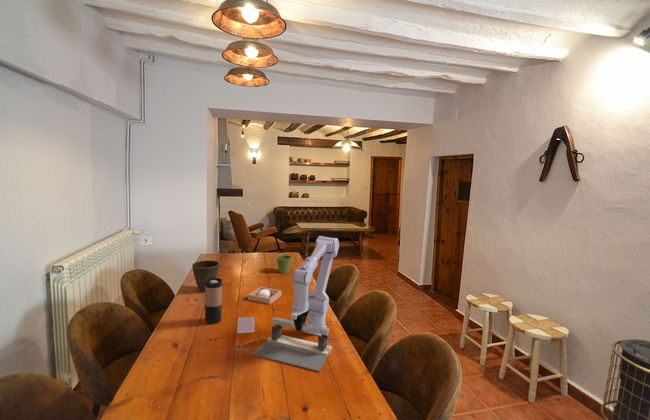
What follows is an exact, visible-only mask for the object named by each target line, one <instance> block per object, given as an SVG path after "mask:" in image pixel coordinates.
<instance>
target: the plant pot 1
mask: <svg viewBox="0 0 650 420" xmlns="http://www.w3.org/2000/svg"><path fill="white" fill-rule="evenodd" d="M191 265H192V273H193V277H194V280H195V284H196V286H197V288H198V290H199V292H201V293H205V281H206V280H207V279H210V278H218V273H219V268H220V262H219V261H216V260H201V261H195V262H194V263H192V264H191Z"/></svg>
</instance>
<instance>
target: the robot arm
mask: <svg viewBox="0 0 650 420" xmlns="http://www.w3.org/2000/svg"><path fill="white" fill-rule="evenodd" d="M339 248H340V241H339V239H338V238H337V237H327V236H323V235H319V236H318V237H317V238H316V239H315V248H314V249H313V251H312V253H311V255H310V256H307V257H306V258H305V260H304V261H303V262H302V264H301V265H300V267H299V268H297V269H295V270H294V271H293V272H292V277H291V280H292V282H293V287H294V290H293V291H294V295H293V296H294V297H293V305H292V306H291V307H290V309H291V310H292V313H291V315H290V320H292V321H294V324H295V328H296V329H295V331H298V332H301V331H302V330H301V329H302V323H306V320H307V318H308V320H307V324H311V325H316V326H321V327H326V328H328V326H327V325H326V317H327V316H326V315H327V312H328V310H329V307H330V304H329V303H330V298H329V295H328V294H327V293H326V290H327V285H328V281H329V277H330V273H331V269H332V265H333V261H334V258H336V257H337V256H338V252H339ZM321 258H322V260H321V263H320V267H319V271H318V276H317V279H316V283H315V287H314V289H313V290H312V291H310V292H309V284H310V283H311V281H312V278H313V275H314V274H313V273H314V271H315V270H316V268H317V267H318V264H319V263H318V261H319V260H320V259H321ZM304 333H305V334H311V335H315V336H318V337H319V336H321V337H322V335H321V334H316V333H312V332H307V331H304Z"/></svg>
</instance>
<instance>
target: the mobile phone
mask: <svg viewBox="0 0 650 420" xmlns="http://www.w3.org/2000/svg"><path fill="white" fill-rule="evenodd" d="M254 319H255V318H254V317H253V316H246V317H245V316H243V317H238V318H237V328H236V329H237V330H236V332H237V333H236V334H247V333H249V334H250V333H254V332H255V320H254Z"/></svg>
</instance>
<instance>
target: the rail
mask: <svg viewBox="0 0 650 420" xmlns="http://www.w3.org/2000/svg"><path fill="white" fill-rule="evenodd" d="M271 325H275V326H276V325H279V326H282V327H285V328H288V329H294V330H296V328H295V324H294V321H293V319H286V318H281V317H276V316H274V317H272V319H271ZM301 331H303V332H305V331H307V332H312V333H316V334H321V336H322V335H326V336H327V335H329V334H330V328H329V327H327V328H326V327H321V326H316V325H311V324H308V323H306V322H305V323H302V329H301Z"/></svg>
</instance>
